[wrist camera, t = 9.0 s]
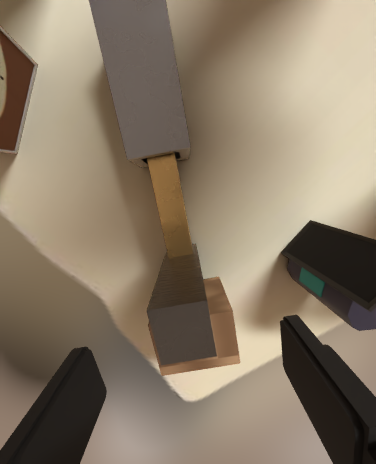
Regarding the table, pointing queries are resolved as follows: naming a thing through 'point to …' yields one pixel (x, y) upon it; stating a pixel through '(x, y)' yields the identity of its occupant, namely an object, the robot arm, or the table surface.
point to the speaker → (336, 271)
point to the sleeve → (142, 77)
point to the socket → (221, 332)
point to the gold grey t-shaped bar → (177, 277)
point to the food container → (14, 91)
